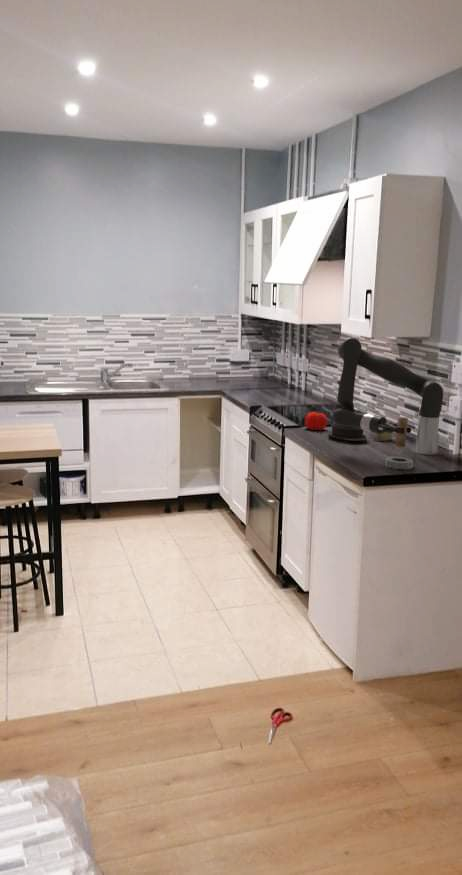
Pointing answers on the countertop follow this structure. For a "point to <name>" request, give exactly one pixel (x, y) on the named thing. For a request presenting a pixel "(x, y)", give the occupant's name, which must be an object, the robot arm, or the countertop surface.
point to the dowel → (401, 437)
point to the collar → (398, 463)
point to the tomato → (315, 421)
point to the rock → (383, 436)
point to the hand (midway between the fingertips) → (407, 430)
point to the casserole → (346, 433)
